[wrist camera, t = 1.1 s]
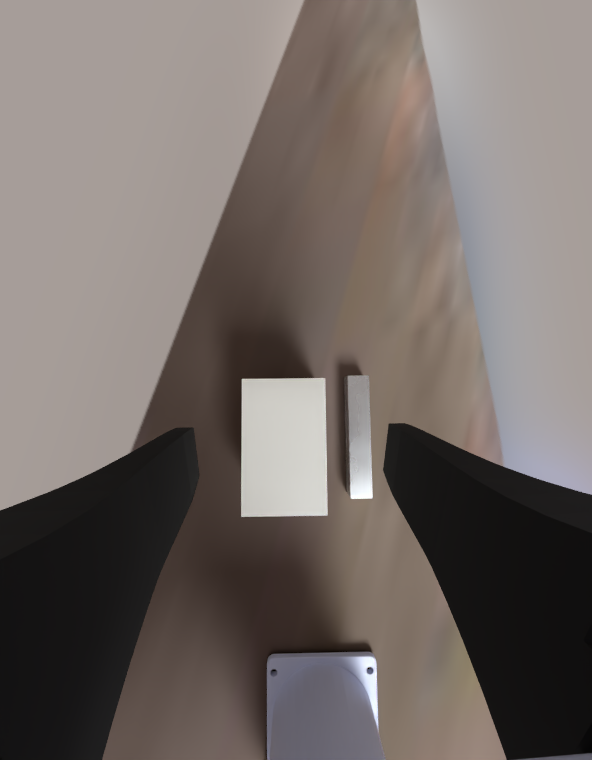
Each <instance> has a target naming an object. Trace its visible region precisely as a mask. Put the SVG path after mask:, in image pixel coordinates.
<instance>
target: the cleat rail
mask: <svg viewBox="0 0 592 760" xmlns="http://www.w3.org/2000/svg"><path fill="white" fill-rule="evenodd" d="M344 400H345V444H346V488H347V493H348V495H349V497H350V498H351V499H364V498H372V464H371V430H370V396H369V376H346V377H344Z"/></svg>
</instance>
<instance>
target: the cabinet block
mask: <svg viewBox="0 0 592 760" xmlns="http://www.w3.org/2000/svg"><path fill="white" fill-rule="evenodd" d="M265 516H328V512H327V455H326V398H325V378H284V379H242V454H241V517H265Z"/></svg>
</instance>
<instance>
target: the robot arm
mask: <svg viewBox="0 0 592 760" xmlns="http://www.w3.org/2000/svg"><path fill="white" fill-rule="evenodd" d="M383 471H384V474H385V477H386V479H387V482H388V485H389V487H390V490H391V492H392V495H393V496H394V498H395V500H396V502H397V504H398V506H399V508H400V509H401V511H402V513H403V515H404V517H405V518H406V520H407V522H408V524H409V526H410V527H411V529H412V531H413V533H414V535H415V536H416V538H417V540H418V542H419V544H420V545H421V547H422V549H423V551H424V553H425V555H426V557H427V559H428V561H429V563H430V565H431V566H432V569H433V571H434V573H435V576H436V578H437V580H438V582H439V585H440V587H441V589H442V591H443V594H444V596H445V598H446V601H447V603H448V605H449V608H450V610H451V613H452V615H453V618H454V620H455V622H456V625H457V627H458V630H459V632H460V635H461V637H462V639H463V642H464V645H465V647H466V650H467V652H468V655H469V658H470V660H471V663H472V665H473V668H474V671H475V673H476V676H477V678H478V681H479V684H480V686H481V689H482V691H483V694H484V697H485V700H486V702H487V705H488V708H489V711H490V714H491V716H492V719H493V722H494V725H495V727H496V730H497V733H498V736H499V739H500V741H501V744H502V747H503V750H504V753H505V755H506V758H507V760H592V495H590V494H586V493H582V492H578V491H575V490H572V489H568V488H565V487H562V486H559V485H555V484H552V483H548V482H545V481H542V480H539V479H536V478H533V477H530V476H527V475H525V474H522V473H519V472H516V471H514V470H511V469H508V468H505V467H503V466H500V465H498V464H495V463H493V462H490V461H488V460H485V459H483V458H481V457H478V456H476V455H474V454H471V453H469V452H467V451H465V450H463V449H460V448H458V447H456V446H454V445H452V444H450V443H448V442H446V441H443V440H441V439H439V438H437V437H435V436H433V435H431V434H429V433H427V432H425V431H423V430H420V429H418V428H416V427H414V426H411V425H408V424H405V423H397V424H389V426H388V434H387V443H386V451H385V460H384V468H383ZM198 479H199V468H198V460H197V452H196V444H195V436H194V428H175V429H173V430H170V431H168V432H167V433H165V434H163V435H161V436H159V437H157V438H156V439H154V440H152V441H150V442H149V443H147V444H145V445H143V446H142V447H140V448H138V449H136V450H135V451H133V452H131V453H129V454H128V455H126V456H124V457H122V458H120V459H118V460H116V461H114V462H112V463H111V464H109V465H107V466H105V467H103V468H101V469H99V470H97V471H95V472H93V473H91V474H89V475H87V476H85V477H83V478H80V479H78V480H76V481H74V482H71V483H69V484H67V485H65V486H63V487H60V488H58V489H55V490H53V491H51V492H48V493H46V494H43V495H40V496H38V497H35V498H33V499H30V500H27V501H24V502H22V503H19V504H17V505H14V506H12V507H9V508H6V509H3V510H1V511H0V760H102V757H103V754H104V750H105V747H106V743H107V740H108V736H109V732H110V729H111V725H112V722H113V718H114V715H115V711H116V708H117V705H118V701H119V698H120V695H121V691H122V688H123V685H124V681H125V678H126V675H127V671H128V668H129V665H130V661H131V658H132V655H133V652H134V649H135V646H136V643H137V639H138V636H139V633H140V630H141V627H142V624H143V621H144V618H145V615H146V612H147V609H148V606H149V603H150V600H151V597H152V594H153V591H154V588H155V586H156V583H157V580H158V577H159V575H160V572H161V570H162V567H163V565H164V563H165V560H166V558H167V556H168V554H169V551H170V549H171V547H172V545H173V543H174V540H175V538H176V536H177V534H178V532H179V529H180V527H181V525H182V523H183V520H184V518H185V516H186V514H187V511H188V509H189V507H190V504H191V502H192V499H193V496H194V493H195V490H196V486H197V482H198ZM368 667H372V668H371V669H367V668H368ZM272 669H276V671H272ZM267 760H386V759H385V755H384V751H383V748H382V744H381V740H380V736H379V732H378V699H377V665H376V659H375V656H374V654H373V653H371V652H331V653H286V654H271V655H270V656H269V657H268V660H267Z"/></svg>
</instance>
